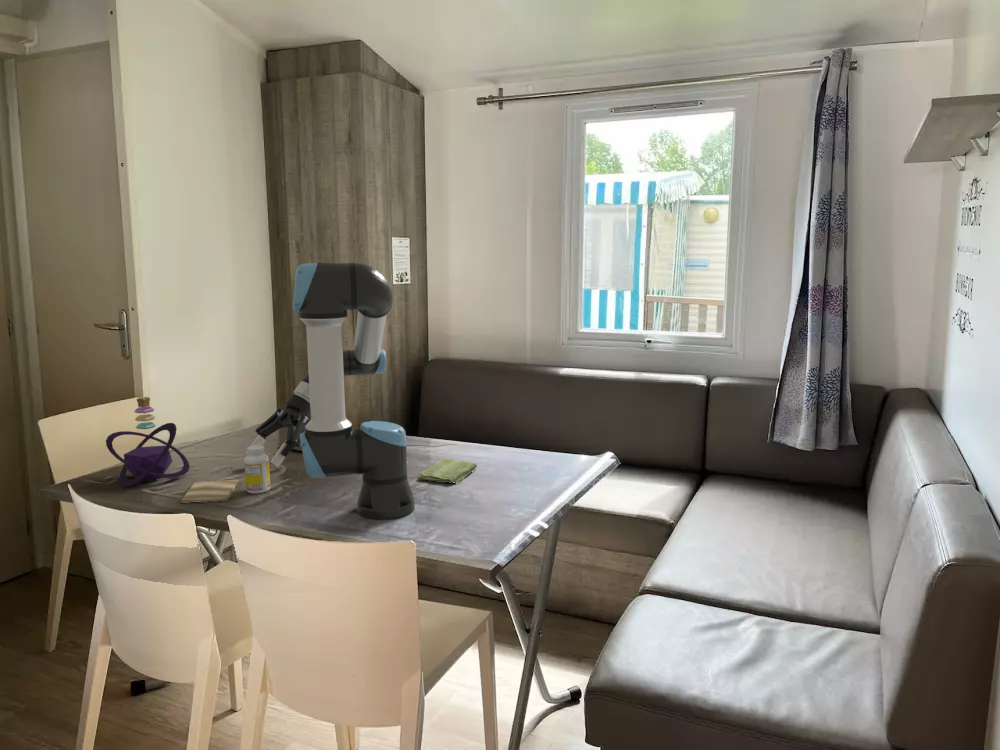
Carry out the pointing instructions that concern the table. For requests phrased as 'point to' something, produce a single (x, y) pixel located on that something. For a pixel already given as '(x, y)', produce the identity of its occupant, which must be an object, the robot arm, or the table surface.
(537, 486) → the table surface
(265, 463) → the supplement bottle
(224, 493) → the pad
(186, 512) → the table surface
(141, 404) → the decorative bottle
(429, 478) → the washcloth
